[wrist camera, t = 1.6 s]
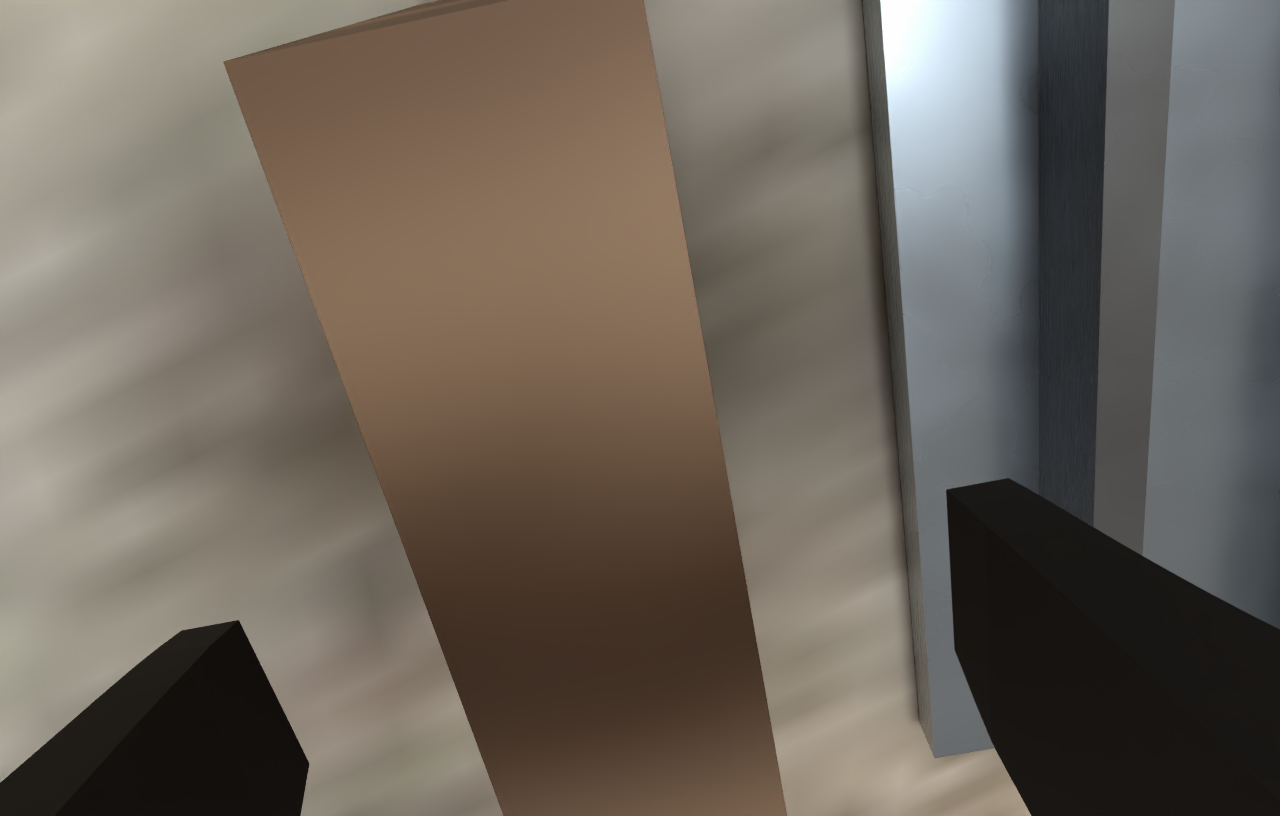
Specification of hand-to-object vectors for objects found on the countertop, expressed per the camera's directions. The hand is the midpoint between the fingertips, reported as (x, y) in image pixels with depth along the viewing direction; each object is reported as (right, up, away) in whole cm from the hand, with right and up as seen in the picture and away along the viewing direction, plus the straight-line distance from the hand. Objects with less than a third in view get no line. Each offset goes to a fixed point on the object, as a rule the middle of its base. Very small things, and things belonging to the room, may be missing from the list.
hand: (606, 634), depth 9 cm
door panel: (0, +3, +7) cm, 8 cm away
